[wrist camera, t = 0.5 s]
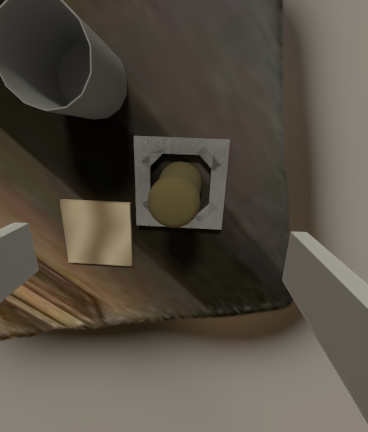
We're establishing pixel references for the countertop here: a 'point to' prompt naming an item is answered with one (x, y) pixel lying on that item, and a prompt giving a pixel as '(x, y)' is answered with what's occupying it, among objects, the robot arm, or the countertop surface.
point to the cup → (58, 60)
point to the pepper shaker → (176, 195)
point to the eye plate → (207, 148)
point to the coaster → (98, 232)
